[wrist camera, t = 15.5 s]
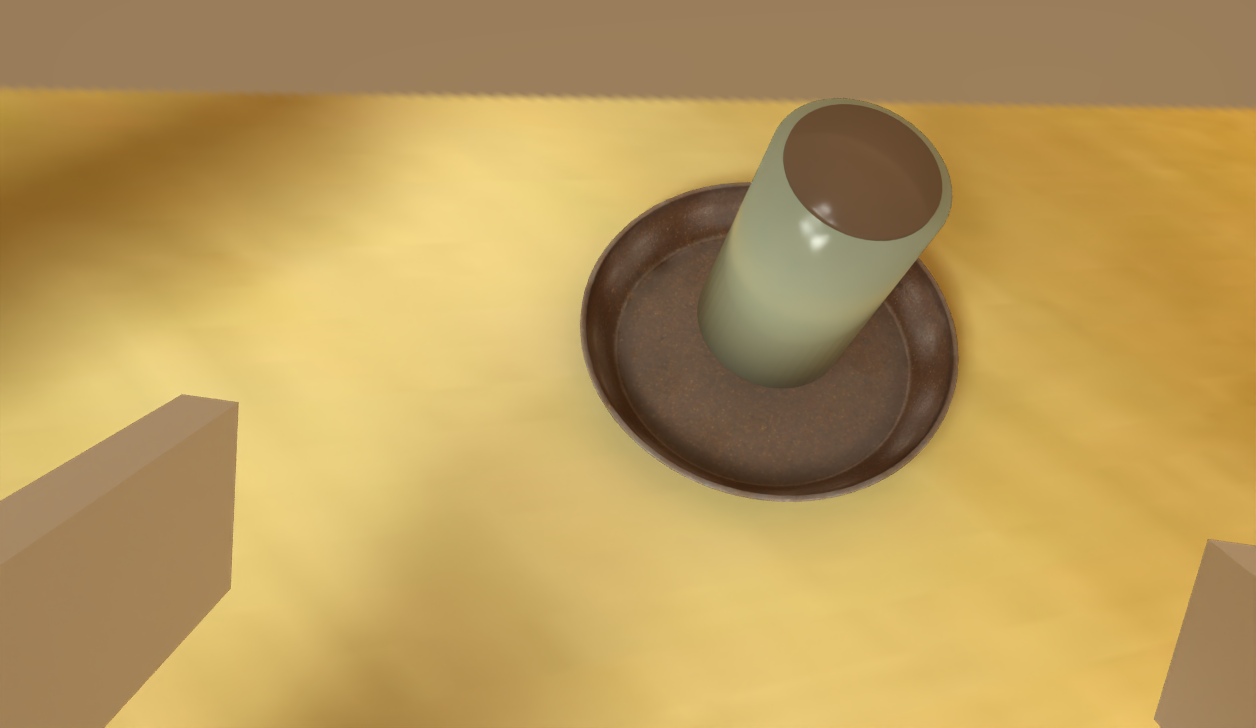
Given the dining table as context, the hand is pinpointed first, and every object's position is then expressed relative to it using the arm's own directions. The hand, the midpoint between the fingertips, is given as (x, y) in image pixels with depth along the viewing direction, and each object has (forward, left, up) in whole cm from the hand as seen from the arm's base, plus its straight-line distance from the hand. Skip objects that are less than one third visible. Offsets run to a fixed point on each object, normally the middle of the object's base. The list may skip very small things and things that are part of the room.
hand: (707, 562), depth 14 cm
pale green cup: (-13, +17, -26) cm, 34 cm away
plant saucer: (-13, +18, -29) cm, 37 cm away
